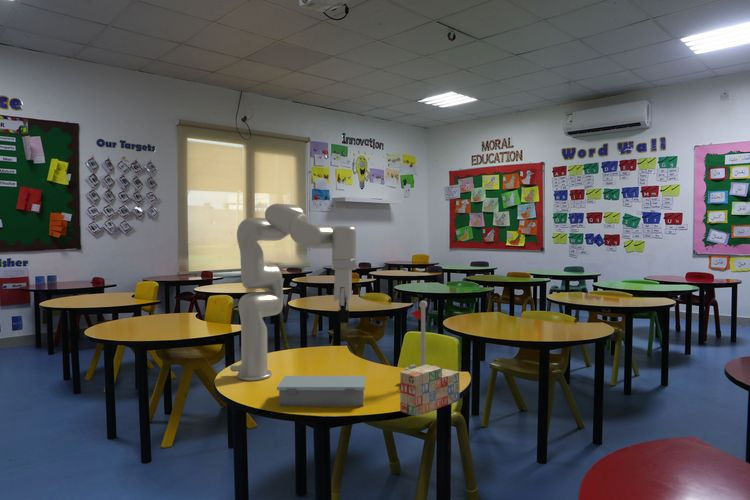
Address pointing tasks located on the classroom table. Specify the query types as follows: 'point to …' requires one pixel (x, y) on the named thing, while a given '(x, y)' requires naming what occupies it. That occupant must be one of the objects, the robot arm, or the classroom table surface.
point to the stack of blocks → (427, 389)
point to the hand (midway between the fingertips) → (343, 322)
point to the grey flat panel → (322, 383)
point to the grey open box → (321, 398)
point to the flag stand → (421, 316)
